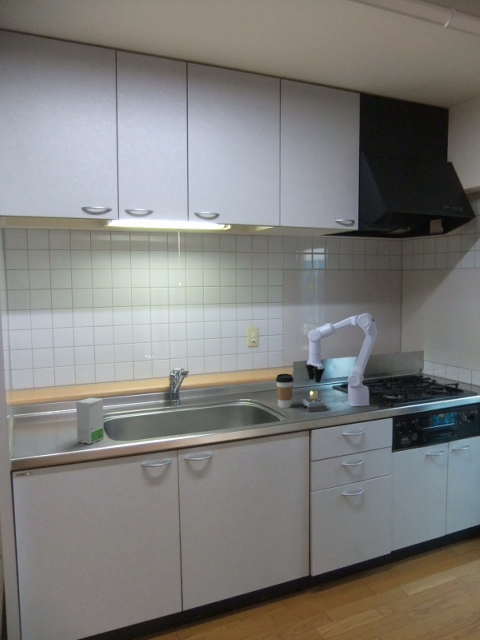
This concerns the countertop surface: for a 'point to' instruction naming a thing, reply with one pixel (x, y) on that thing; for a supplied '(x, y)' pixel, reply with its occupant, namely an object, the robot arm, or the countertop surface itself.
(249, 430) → the countertop surface
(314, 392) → the brass cylinder
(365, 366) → the robot arm
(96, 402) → the skincare box
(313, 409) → the stop
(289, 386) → the coffee cup
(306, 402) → the grey square tray
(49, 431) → the countertop surface
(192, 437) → the countertop surface
